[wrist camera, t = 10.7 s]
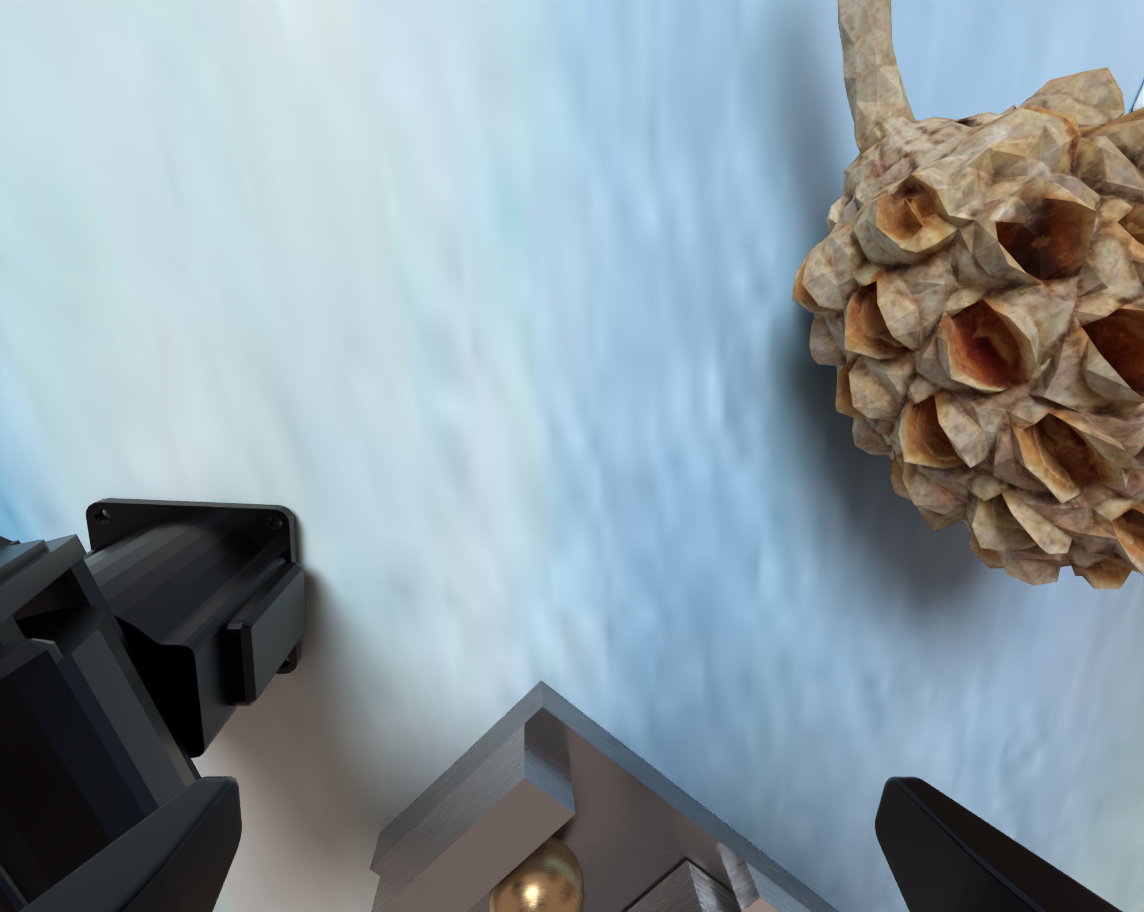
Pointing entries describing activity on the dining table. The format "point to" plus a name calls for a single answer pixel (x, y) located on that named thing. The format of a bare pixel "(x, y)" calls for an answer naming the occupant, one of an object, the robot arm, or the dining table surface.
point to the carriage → (688, 894)
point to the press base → (562, 828)
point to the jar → (1139, 100)
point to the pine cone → (992, 311)
